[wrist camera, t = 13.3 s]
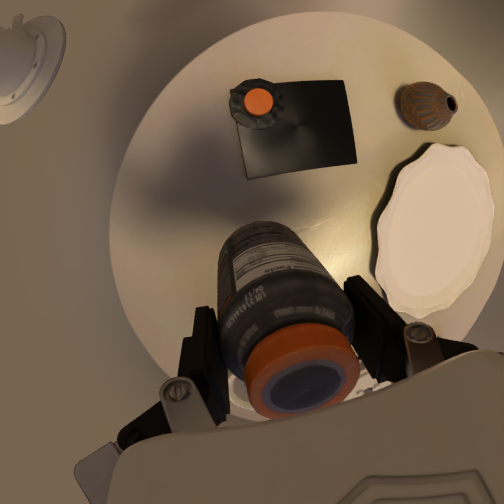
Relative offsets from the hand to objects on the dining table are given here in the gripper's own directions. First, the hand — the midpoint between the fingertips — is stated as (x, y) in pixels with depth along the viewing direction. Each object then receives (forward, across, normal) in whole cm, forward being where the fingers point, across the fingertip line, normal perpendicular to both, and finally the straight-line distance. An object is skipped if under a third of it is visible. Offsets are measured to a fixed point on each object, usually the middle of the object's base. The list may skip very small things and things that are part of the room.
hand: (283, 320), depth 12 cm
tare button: (+20, -3, -12) cm, 24 cm away
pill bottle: (+7, 0, 0) cm, 7 cm away
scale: (+22, -8, -10) cm, 26 cm away
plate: (+22, -31, +8) cm, 39 cm away
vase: (+22, -26, -12) cm, 36 cm away
